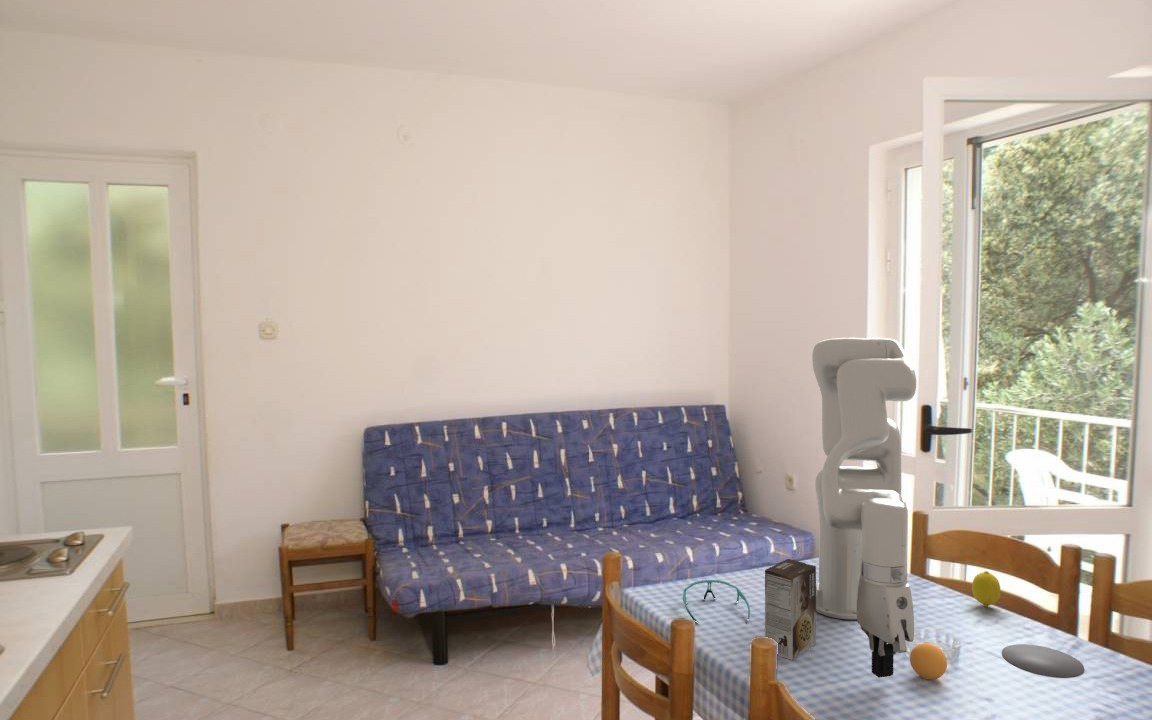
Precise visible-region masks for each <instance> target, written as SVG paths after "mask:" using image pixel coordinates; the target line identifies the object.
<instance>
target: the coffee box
mask: <svg viewBox="0 0 1152 720" xmlns="http://www.w3.org/2000/svg"><path fill="white" fill-rule="evenodd" d="M816 578H817V565H813V564H812V565H811V564H808V563H805V562H802V561H799V560H796V559H795V560H794V559H790V558H788V559H785V560H783V561H781V562H778V563H776V564H775V565H773V566H770V567H768V568H766V569H765V570H764V638H765V637H768V638H772V639H774V640H775V641H776V642H777V643H778V655H777V656H779V657H781V658H785V659H787V660H789V659H790V661H795V660H796V659H798V658H799V657H801V656H802V655H803V654H806V653H807V652H808V651H810V650H811V649H813V648H814V647H815V645H817V611H816V586H817V579H816ZM812 647H813V648H812ZM809 649H810V650H809Z"/></svg>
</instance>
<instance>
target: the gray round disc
mask: <svg viewBox="0 0 1152 720" xmlns="http://www.w3.org/2000/svg"><path fill="white" fill-rule="evenodd" d="M1001 656H1002V657H1003V659H1004V660H1005V661H1007V662H1008V663H1010V664H1011V665H1013V666H1015V667H1017V668H1019V669H1021V670H1024V671H1027V672H1031V673H1034V674H1037V675H1042V676H1047V677H1053V678H1055V677H1056V678H1072V677H1077V676H1080V675H1082V674H1083V673H1084V672H1085V666H1084V664H1083V663H1082V662H1081V661H1080V660H1079V659H1077V658H1076V657H1073V656H1072V655H1070V654H1068V653H1065V652H1063V651H1060V650H1057V649H1054V648H1050V647H1046V646H1041V645H1037V644H1021V643H1020V644H1018V643H1017V644H1011V645H1007V646H1005V647H1004V648H1002V650H1001Z"/></svg>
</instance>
